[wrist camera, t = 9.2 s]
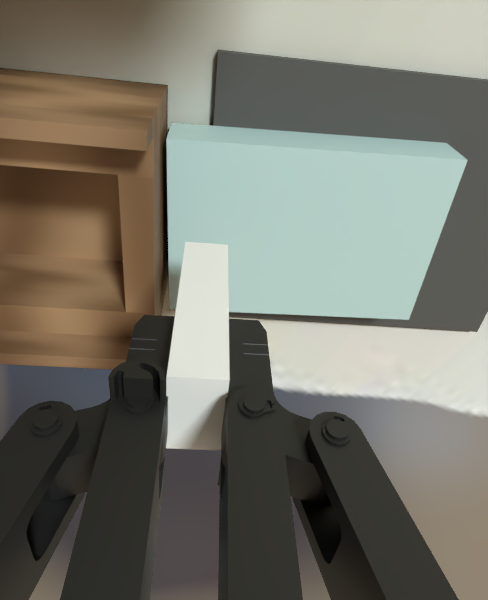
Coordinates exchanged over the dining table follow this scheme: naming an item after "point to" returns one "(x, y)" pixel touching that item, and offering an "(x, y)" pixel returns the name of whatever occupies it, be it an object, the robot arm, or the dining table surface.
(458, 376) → the dining table surface
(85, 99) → the box
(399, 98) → the mat
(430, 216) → the lid
